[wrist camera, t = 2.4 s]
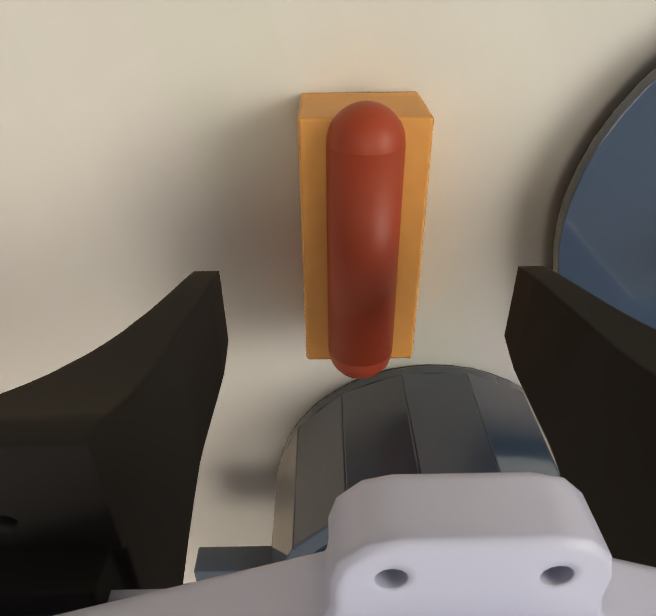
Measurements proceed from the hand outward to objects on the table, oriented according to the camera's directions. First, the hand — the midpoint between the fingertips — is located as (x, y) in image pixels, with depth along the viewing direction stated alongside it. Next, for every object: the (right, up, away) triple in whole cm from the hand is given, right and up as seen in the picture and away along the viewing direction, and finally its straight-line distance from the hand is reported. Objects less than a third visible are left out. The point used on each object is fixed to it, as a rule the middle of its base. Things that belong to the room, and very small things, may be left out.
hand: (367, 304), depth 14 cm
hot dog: (0, +3, +5) cm, 5 cm away
